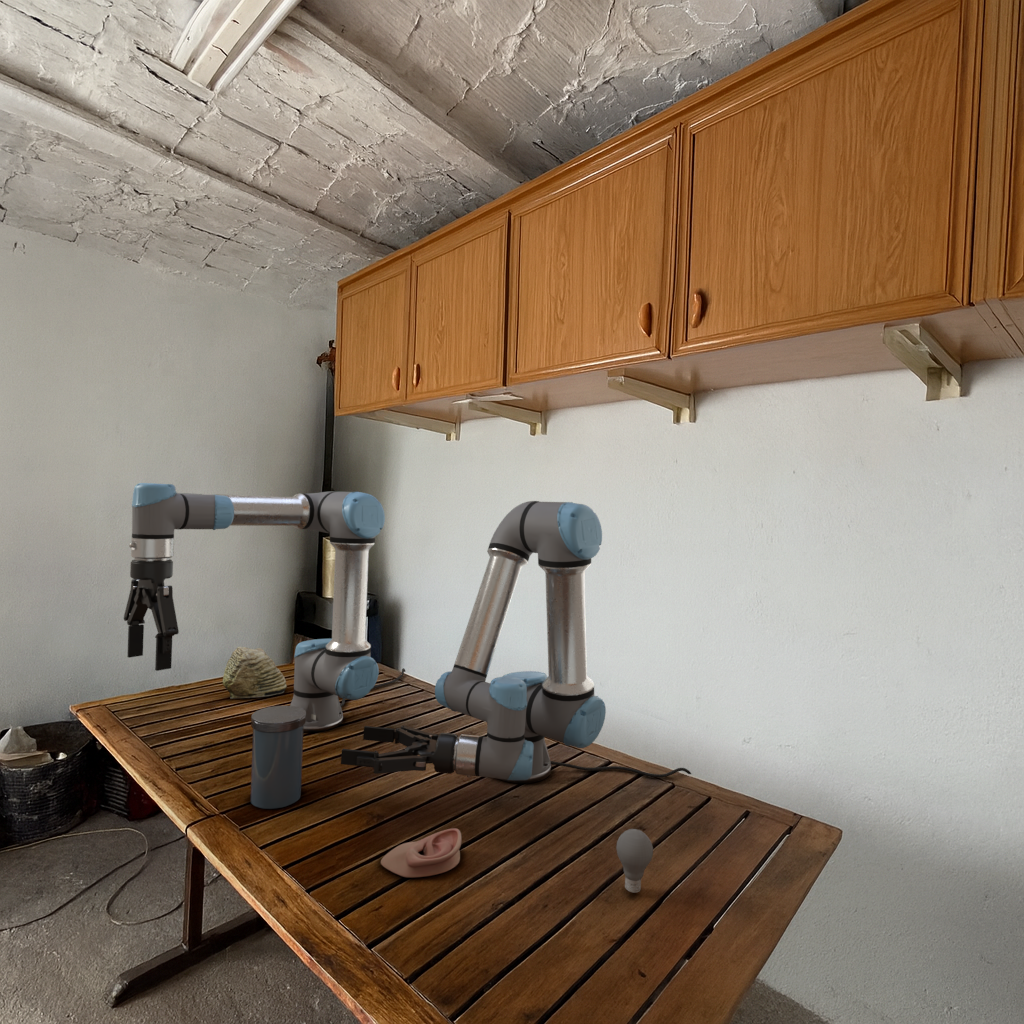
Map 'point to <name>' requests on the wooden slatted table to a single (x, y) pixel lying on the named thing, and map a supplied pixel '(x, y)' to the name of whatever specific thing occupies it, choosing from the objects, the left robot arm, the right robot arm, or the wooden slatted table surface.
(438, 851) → the anatomical model
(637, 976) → the wooden slatted table surface
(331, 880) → the wooden slatted table surface
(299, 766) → the jar
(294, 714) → the lid
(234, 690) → the fossil
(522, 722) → the right robot arm
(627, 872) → the light bulb
